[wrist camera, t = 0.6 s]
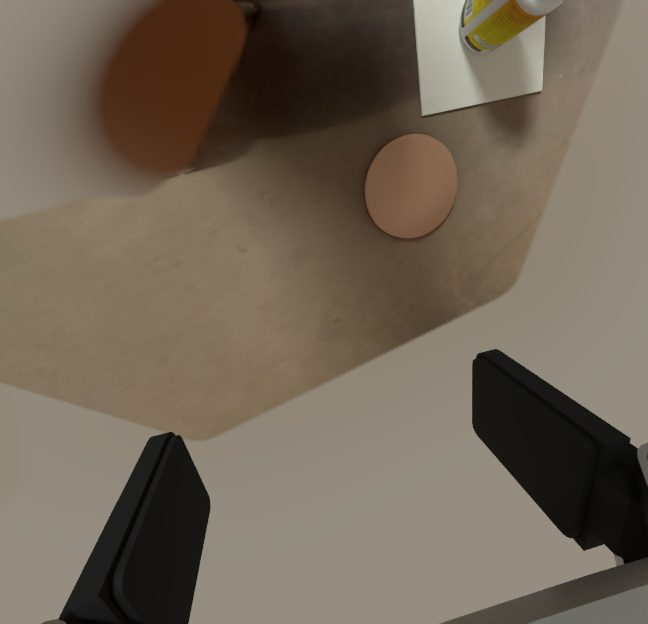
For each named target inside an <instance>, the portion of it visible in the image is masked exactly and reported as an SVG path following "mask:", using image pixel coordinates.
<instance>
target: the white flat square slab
mask: <svg viewBox="0 0 648 624" xmlns="http://www.w3.org/2000/svg"><path fill="white" fill-rule="evenodd" d="M464 2H465V0H413V9H414V23H415V36H416V49H417V62H418V76H419V89H420V102H421V116H425V115H430V114H435V113H440V112H444V111H449V110H454V109H459V108H464V107H468V106H473V105H478V104H483V103H487V102H492V101H497V100H502V99H506V98H511V97H516V96H521V95H526V94H530V93H535V92H540V91H542V81H543V61H544V40H545V20H546V16H544V17H543V18H541V19H540V20H538V21H537V22H535V23H534V24H532V25H531V26H529V27H528V28H526V29H525V30H523V31H522V32H521V33H519V34H518V35H516V36H515V37H513V38H512V39H510V40H509V41H507V42H506V43H504V44H503V45H501V46H500V47H498V48H497V49H495V50H494V51H492V52H489V53H485V54H479V53H475V52H473V51H471V50H470V49H469V48H468V47H467V46H466V45H465V43H464V41H463V39H462V37H461V33H460V14H461V10H462V7H463V4H464Z"/></svg>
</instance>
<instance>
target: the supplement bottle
mask: <svg viewBox="0 0 648 624" xmlns="http://www.w3.org/2000/svg"><path fill="white" fill-rule="evenodd" d="M563 1H564V0H465V2H464V4H463V7H462V10H461V14H460V33H461V37H462V39H463V41H464V43H465V45H466V46H467V47H468V48H469V49H470V50H471V51H473V52H475V53H479V54H485V53H489V52H492V51H494V50H495V49H497V48H498V47H500V46H501V45H503V44H504V43H506V42H507V41H509V40H510V39H512V38H513V37H515V36H516V35H518V34H519V33H521V32H522V31H523V30H525V29H526V28H528V27H529V26H531V25H532V24H534V23H535V22H537V21H538V20H540V19H541V18H543V17H544V16H546V15H547V14H548V13H550V12H551V11H553V10H554V9H556V8H557V7H558V6H559V5H561V4H562V3H563Z"/></svg>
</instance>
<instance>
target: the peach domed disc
mask: <svg viewBox="0 0 648 624" xmlns="http://www.w3.org/2000/svg"><path fill="white" fill-rule="evenodd" d="M457 187H458V175H457V169H456V165H455V162H454V159H453V157H452V155H451V153H450V152H449V151H448V149H447V148H446V147H445V146H444V145H443V144H442V143H441V142H440V141H438V140H437V139H435V138H433V137H431V136H428V135H424V134H408V135H405V136H401V137H399V138H397V139H395V140H393V141H391V142H390V143H388V144H387V145H386V146H384V147H383V148H382V149H381V150H380V151H379V152H378V154H377V155H376V156H375V158H374V159H373V161H372V163H371V165H370V167H369V169H368V172H367V175H366V179H365V185H364V196H365V203H366V207H367V210H368V212H369V214H370V216H371V218H372V220H373V221H374V223H375V224H376V225H377V226H378V227H379V228H380V229H381V230H383V231H384V232H386V233H388V234H390V235H392V236H395V237H399V238H415V237H419V236H423V235H425V234H427V233H429V232H430V231H432V230H434V229H435V228H436V227H437V226H439V225H440V224H441V223H442V222H443V220H444V219H445V218H446V217H447V215H448V213H449V212H450V210H451V208H452V206H453V204H454V201H455V198H456V194H457Z"/></svg>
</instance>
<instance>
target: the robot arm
mask: <svg viewBox="0 0 648 624" xmlns="http://www.w3.org/2000/svg"><path fill="white" fill-rule="evenodd" d="M472 367H473V368H472V372H473V373H472V379H473V380H472V384H473V385H472V424H473V428H474V431H475V433H476V434H477V435H478V437H479V438H480V439H481V440H482V441H483V442H484V444H485V445H486V446H487V447H488V448H489V449H490V451H491V452H492V453H493V454H494V455H495V456H496V457H497V459H498V460H499V461H500V462H501V463H502V464H503V466H505V468H506V469H507V470H508V471H509V472H510V473H511V475H512V476H513V477H514V478H515V479H516V480H517V482H518V483H519V484H520V485H521V486H522V487H523V488H524V490H525V491H526V492H527V493H528V494H529V495H530V497H531V498H532V499H533V500H534V501H535V502H536V504H537V505H538V506H539V507H540V508H541V509H542V510H543V512H544V513H545V514H546V515H547V516H548V517H549V519H550V520H551V521H552V522H553V523H554V524H555V525H556V526H557V528H558V529H559V530H560V531H561V532H562V533H563V534H564V535H565V536H567V537H569V538H573V539H574V540H575V541H576V542H577V543H578V545H579V546H580V547H581V548H582V549H583V550H584V551H585V550H588V549H591V548H594V547H597V546H600V545H603V544H605V545H606V546H607V547H608V548H609V549H610V550H611V551H612V552H613V553H614V556H615V561H616V566H617V567H614V568H610V569H607V570H604V571H600V572H597V573H594V574H591V575H587V576H584V577H581V578H578V579H575V580H572V581H569V582H566V583H562V584H560V585H556V586H553V587H550V588H547V589H544V590H541V591H538V592H535V593H532V594H529V595H526V596H523V597H519V598H517V599H514V600H510V601H507V602H504V603H501V604H498V605H495V606H492V607H489V608H486V609H483V610H480V611H477V612H474V613H471V614H468V615H464V616H461V617H458V618H455V619H452V620H449V621H446V622H444V623H440V624H648V443H646V444H643V445H641V446H640V448H639V449H638V448H636V447H635V446H633V445H632V444H630V438H629V437H628V436H626V435H625V434H623V433H622V432H620V431H619V430H617V429H616V428H614V427H613V426H611V425H610V424H608V423H607V422H605V421H604V420H602V419H601V418H599V417H598V416H596V415H595V414H593V413H592V412H590V411H589V410H587V409H586V408H584V407H583V406H581V405H580V404H578V403H577V402H575V401H574V400H572V399H571V398H570V397H568V396H567V395H565V394H563V393H562V392H561V391H559V390H558V389H556V388H555V387H553V386H552V385H550V384H549V383H547V382H546V381H544V380H543V379H541V378H539V377H538V376H537V375H535V374H534V373H532V372H531V371H529V370H528V369H526V368H525V367H523V366H522V365H520V364H519V363H517V362H516V361H514V360H513V359H511V358H510V357H508V356H507V355H505V354H504V353H503V352H501V351H499V350H497V349H494V350H490V351H486V352H482V353H479V354H478V355H477V357H476V359H474V360H473V366H472ZM209 513H210V498H209V495H208V493H207V491H206V489H205V487H204V484H203V482H202V480H201V478H200V476H199V474H198V471H197V469H196V467H195V465H194V463H193V461H192V459H191V456H190V454H189V452H188V450H187V448H186V445H185V443H184V441H183V439H182V437H181V436H180V435H177V436H175V434H174V433H173V432H169V433H165V434H161V435H157V436H153V437H151V438H150V439H149V440H148V442H147V444H146V446H145V448H144V450H143V452H142V454H141V456H140V458H139V460H138V462H137V464H136V466H135V468H134V470H133V472H132V474H131V476H130V478H129V480H128V482H127V484H126V486H125V488H124V490H123V492H122V494H121V496H120V498H119V500H118V501H117V503H116V505H115V507H114V509H113V511H112V513H111V515H110V517H109V519H108V521H107V523H106V525H105V527H104V529H103V531H102V533H101V535H100V537H99V539H98V541H97V543H96V545H95V547H94V549H93V551H92V553H91V555H90V557H89V559H88V561H87V563H86V565H85V567H84V569H83V571H82V573H81V575H80V577H79V579H78V581H77V583H76V585H75V587H74V589H73V591H72V593H71V595H70V597H69V599H68V601H67V603H66V605H65V607H64V609H63V611H62V613H61V615H60V617H59V619H56V620H51V621H46V622H43V623H41V624H188V623H189V617H190V612H191V606H192V602H193V596H194V591H195V586H196V581H197V575H198V570H199V565H200V560H201V554H202V549H203V544H204V539H205V534H206V528H207V523H208V518H209Z"/></svg>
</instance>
